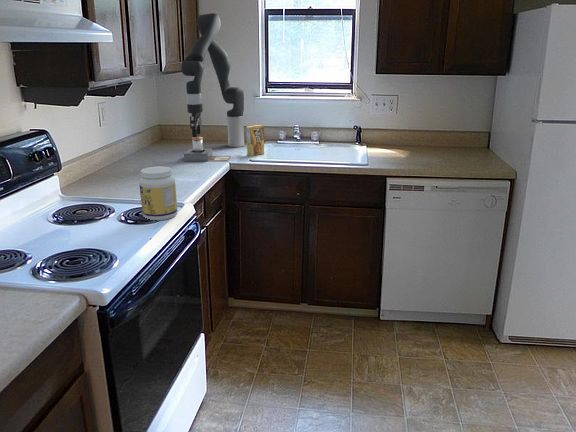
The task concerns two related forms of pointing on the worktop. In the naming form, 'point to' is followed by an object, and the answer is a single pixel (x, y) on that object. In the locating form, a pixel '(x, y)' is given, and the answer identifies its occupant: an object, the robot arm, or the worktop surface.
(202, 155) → the housing
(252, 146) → the candy box
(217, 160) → the board
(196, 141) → the clear glass
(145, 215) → the supplement tub
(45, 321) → the worktop surface
